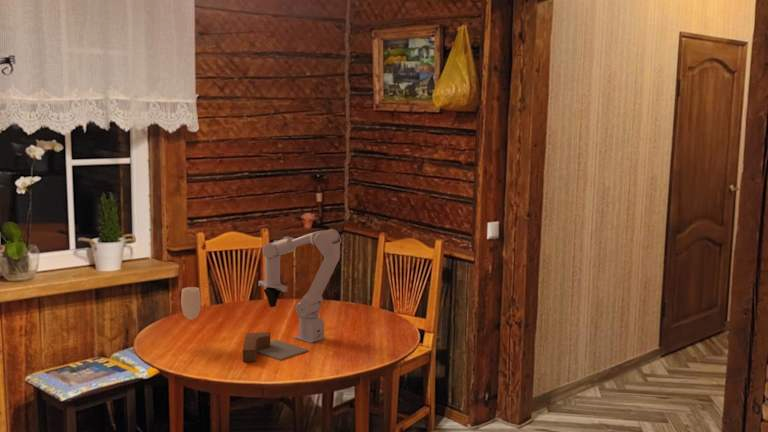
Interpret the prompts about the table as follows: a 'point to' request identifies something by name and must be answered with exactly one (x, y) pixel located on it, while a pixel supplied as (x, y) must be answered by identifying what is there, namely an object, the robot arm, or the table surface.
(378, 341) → the table surface
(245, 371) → the table surface
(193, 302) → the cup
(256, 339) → the wooden block
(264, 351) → the mat
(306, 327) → the robot arm
